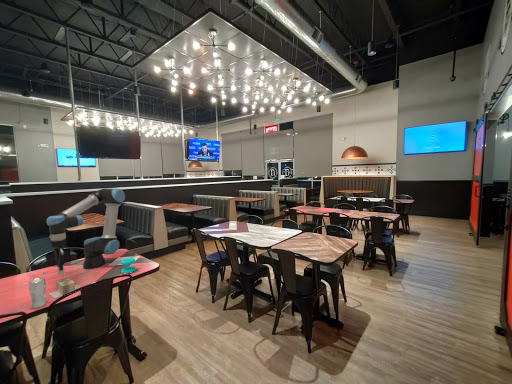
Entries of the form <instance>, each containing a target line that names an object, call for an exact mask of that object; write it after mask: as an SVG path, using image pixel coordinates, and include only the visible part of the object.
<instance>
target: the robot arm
mask: <svg viewBox="0 0 512 384" xmlns="http://www.w3.org/2000/svg"><path fill="white" fill-rule="evenodd" d="M125 198H126V194H125V192H124V191H123V190H122V189H120V188H102V189H98V190H96V191H93V192H92V193H90V194H89V195H88V196H87V197H86V198H84V199H83V200H81V201H79V202H78V203H76V204H74V205H72V206H71V207H69V208H67V209H65V210H64V211H62V212H60V213H59V214H56V215H51V216H49V217H47V218H46V224H47V226H49V228H48V229H49V236H48V238H49V239H50V248H54V249H53V252H54V258H55V264H56V267H57V276H58V277H59V276H60V277H61V276H63V275H65V270H64V265H65V256H66V255H65V254H66V251H65V248H64V246H66V245H67V239H66V238H67V234H66V229H71V228H77V227H80V226H82V225H83V224H84V217H82V216H81V215H80V214H82V213H84V212H85V211H87V210H88V209H90V208H92V207H93V206H97V205H99V204H101V203H104V205H105V206H106V209H105V215H104V222H103V230H102V235H101V236H95V237H91V238H87V239H85V240H84V241H83V248H84V249H83V250H84V251H83V252H84V260H83V264H82V268H83V269H84V270H92V269H96V268H100V267H102V266H105V265H106V260H105V259H106V258H104V255H106V256H107V255H114V254H115V253H116V252H117V251H118V250H119V248H120V242H119V240H118V236H116V230H117V221H118V213H119V207H120V206H121V205H122V203H123V202H124V201H125V200H126V199H125Z"/></svg>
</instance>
